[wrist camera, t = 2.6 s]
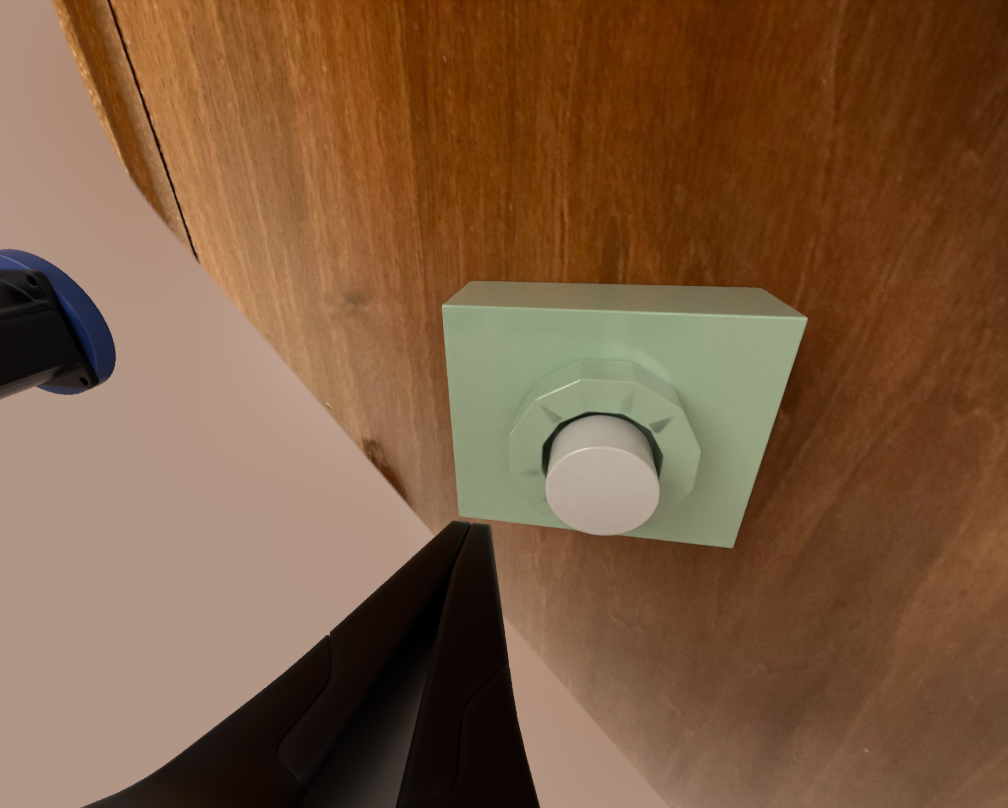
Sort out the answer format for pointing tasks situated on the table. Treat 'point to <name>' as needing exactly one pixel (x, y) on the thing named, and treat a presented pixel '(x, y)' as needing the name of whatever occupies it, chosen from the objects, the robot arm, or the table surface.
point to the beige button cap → (602, 476)
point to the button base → (617, 392)
